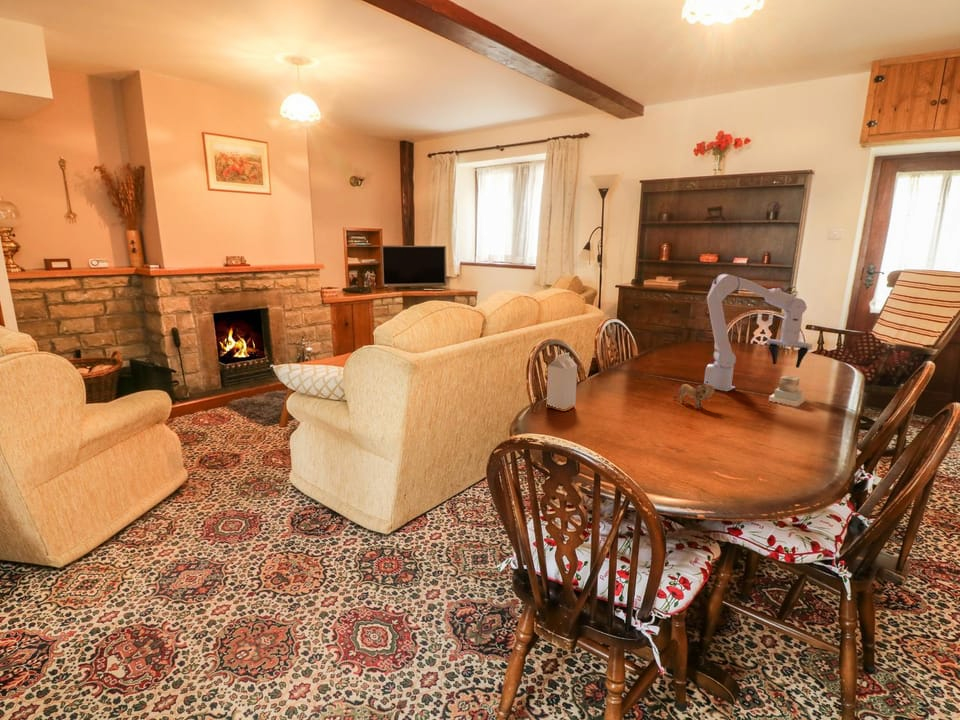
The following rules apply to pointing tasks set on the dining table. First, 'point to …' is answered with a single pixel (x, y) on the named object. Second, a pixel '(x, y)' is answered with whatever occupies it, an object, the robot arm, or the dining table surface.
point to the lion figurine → (696, 393)
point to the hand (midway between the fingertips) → (785, 365)
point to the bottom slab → (786, 401)
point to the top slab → (788, 394)
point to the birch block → (789, 383)
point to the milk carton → (562, 382)
